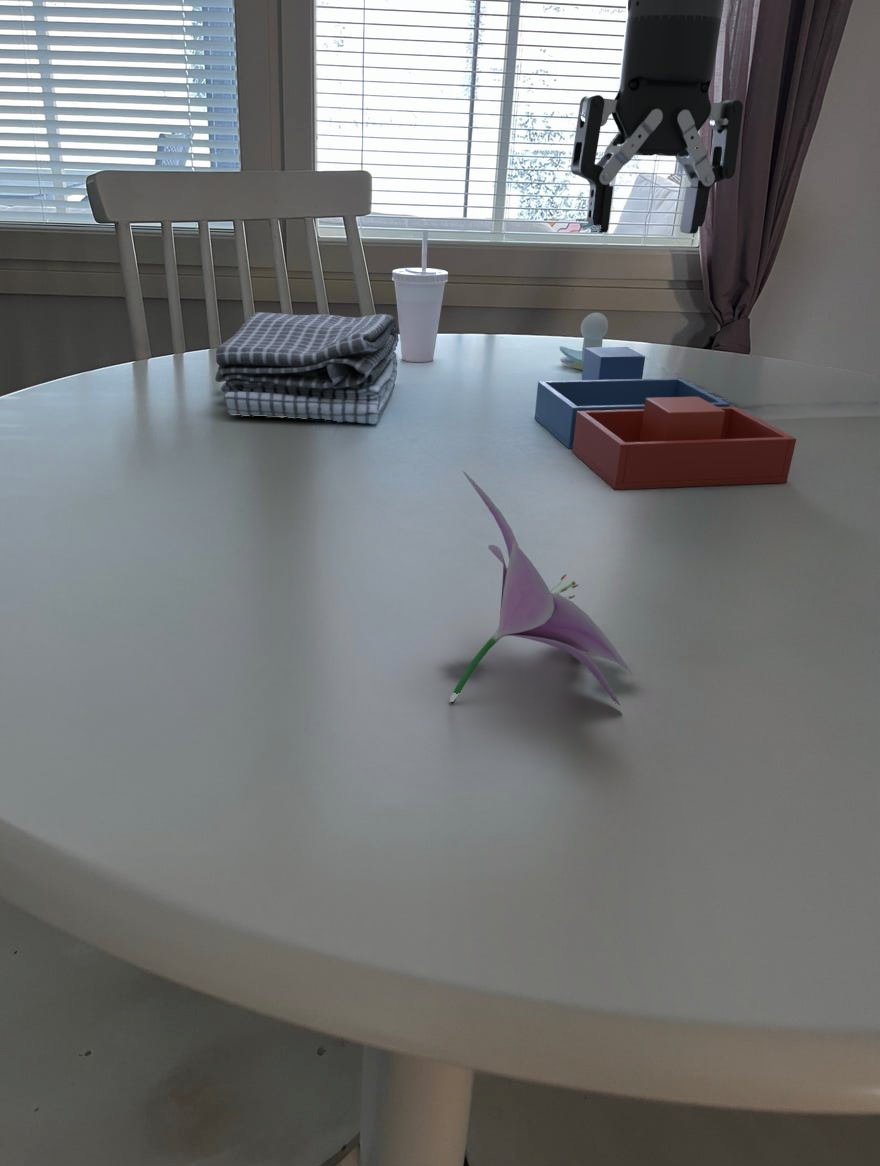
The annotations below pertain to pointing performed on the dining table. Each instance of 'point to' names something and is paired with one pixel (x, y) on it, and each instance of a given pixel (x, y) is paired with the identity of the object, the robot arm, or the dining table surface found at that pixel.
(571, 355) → the pacifier
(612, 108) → the robot arm
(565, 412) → the blue bin
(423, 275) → the smoothie
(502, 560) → the lily
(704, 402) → the red block
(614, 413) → the red bin
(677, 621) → the dining table surface
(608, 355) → the blue block
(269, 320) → the towel
